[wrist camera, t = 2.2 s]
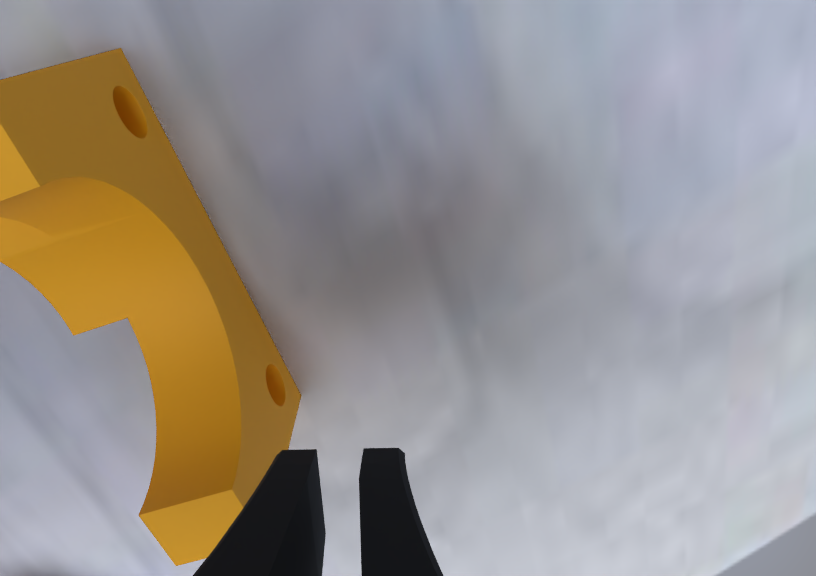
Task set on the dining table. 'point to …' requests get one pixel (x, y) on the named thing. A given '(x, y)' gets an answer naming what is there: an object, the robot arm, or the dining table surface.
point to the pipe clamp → (144, 285)
